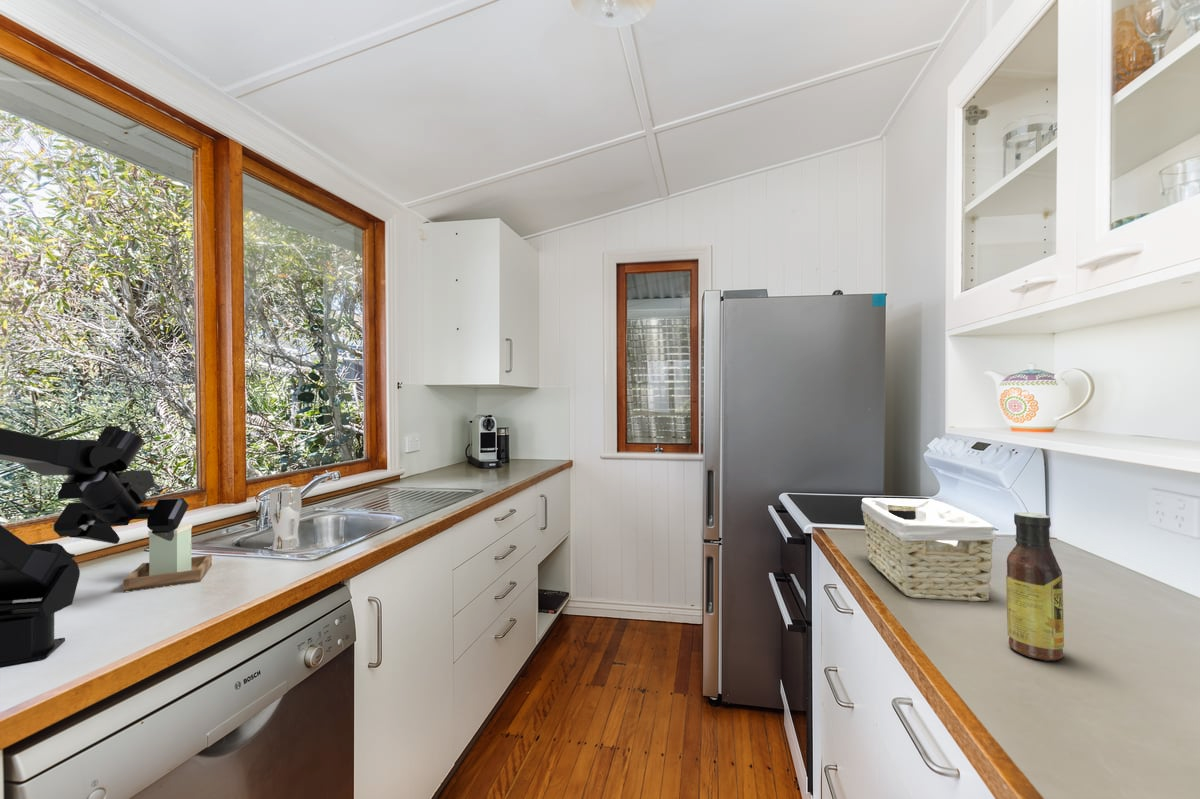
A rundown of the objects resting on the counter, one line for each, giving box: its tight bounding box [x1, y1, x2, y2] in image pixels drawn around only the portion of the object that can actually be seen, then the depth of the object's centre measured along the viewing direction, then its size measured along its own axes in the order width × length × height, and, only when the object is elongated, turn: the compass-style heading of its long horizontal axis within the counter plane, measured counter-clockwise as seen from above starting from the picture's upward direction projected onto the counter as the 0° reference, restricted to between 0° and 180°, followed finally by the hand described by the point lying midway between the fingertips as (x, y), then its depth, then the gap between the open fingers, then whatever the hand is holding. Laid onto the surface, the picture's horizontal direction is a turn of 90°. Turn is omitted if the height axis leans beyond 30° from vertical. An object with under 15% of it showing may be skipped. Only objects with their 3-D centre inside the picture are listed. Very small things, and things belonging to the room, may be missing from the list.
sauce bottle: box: [1005, 512, 1065, 661], centre depth 73 cm, size 6×6×20 cm
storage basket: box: [861, 497, 997, 602], centre depth 103 cm, size 24×16×15 cm
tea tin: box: [147, 523, 193, 576], centre depth 107 cm, size 5×5×10 cm
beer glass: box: [269, 486, 302, 552], centre depth 129 cm, size 7×7×15 cm
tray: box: [122, 554, 213, 593], centre depth 107 cm, size 12×12×2 cm
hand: (145, 540), depth 99 cm, fingers open, 9 cm apart
